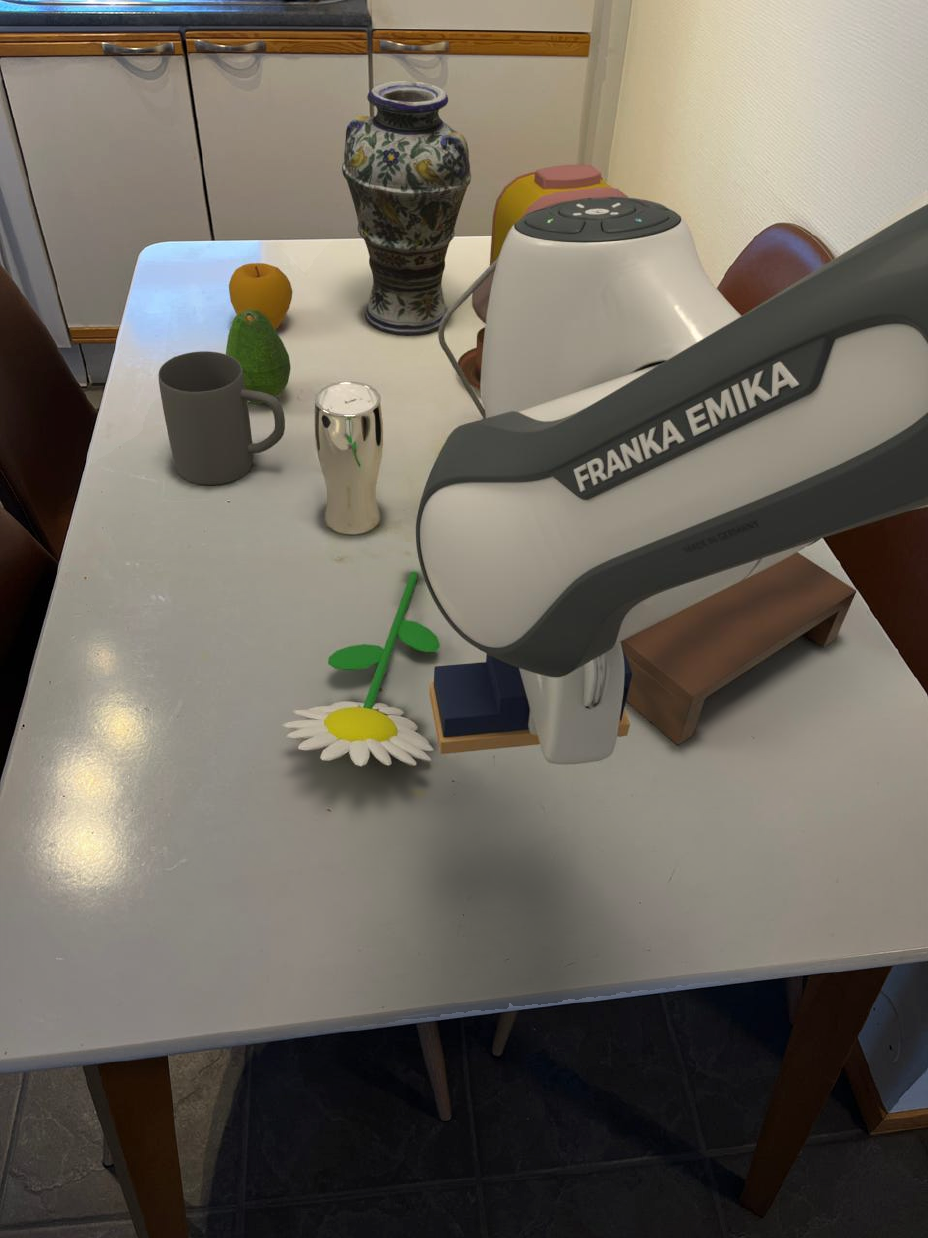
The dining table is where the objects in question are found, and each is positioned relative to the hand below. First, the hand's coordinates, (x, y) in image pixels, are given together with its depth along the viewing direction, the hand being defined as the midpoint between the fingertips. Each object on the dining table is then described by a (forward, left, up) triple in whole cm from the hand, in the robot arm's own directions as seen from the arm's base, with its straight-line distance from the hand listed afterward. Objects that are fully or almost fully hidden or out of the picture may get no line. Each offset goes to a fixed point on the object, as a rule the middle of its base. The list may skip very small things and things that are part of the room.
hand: (530, 690), depth 61 cm
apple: (+88, -29, -21) cm, 95 cm away
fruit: (+71, -19, -21) cm, 77 cm away
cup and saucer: (+58, -48, -21) cm, 78 cm away
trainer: (0, 0, -2) cm, 2 cm away
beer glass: (+44, -15, -21) cm, 51 cm away
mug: (+60, -9, -21) cm, 64 cm away
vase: (+80, -48, -21) cm, 96 cm away
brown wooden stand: (+10, -32, -21) cm, 40 cm away
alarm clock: (+71, -69, -21) cm, 101 cm away
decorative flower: (+22, -4, -21) cm, 31 cm away
